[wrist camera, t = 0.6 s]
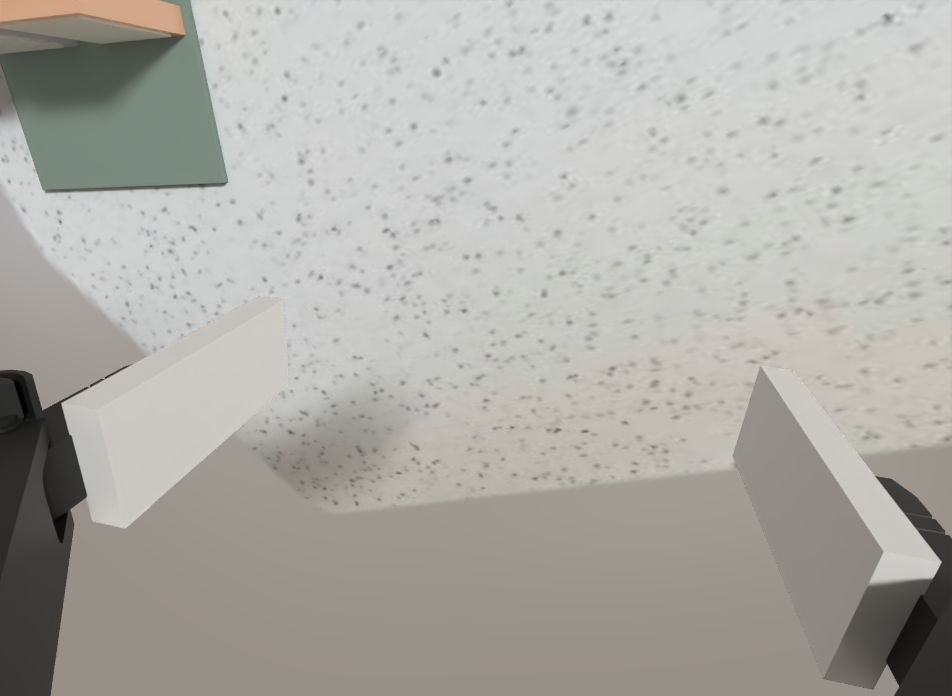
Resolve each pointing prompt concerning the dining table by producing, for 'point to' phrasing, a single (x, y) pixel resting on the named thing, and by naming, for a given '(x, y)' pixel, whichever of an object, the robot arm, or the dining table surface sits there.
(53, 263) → the dining table surface
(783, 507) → the robot arm
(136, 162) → the mat
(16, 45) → the white flat block
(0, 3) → the terracotta tile
